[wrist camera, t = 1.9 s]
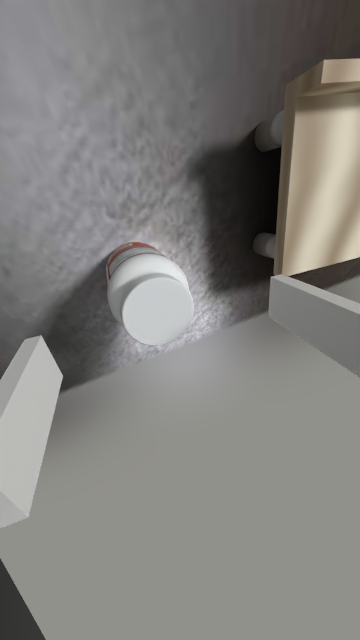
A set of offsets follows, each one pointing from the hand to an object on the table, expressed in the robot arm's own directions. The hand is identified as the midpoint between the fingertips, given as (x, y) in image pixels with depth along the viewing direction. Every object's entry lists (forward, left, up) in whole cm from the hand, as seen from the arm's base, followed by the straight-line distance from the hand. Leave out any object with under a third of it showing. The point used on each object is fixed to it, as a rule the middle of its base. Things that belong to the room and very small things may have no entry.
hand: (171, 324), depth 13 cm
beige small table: (+20, +5, -13) cm, 24 cm away
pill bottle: (0, 0, -13) cm, 13 cm away
